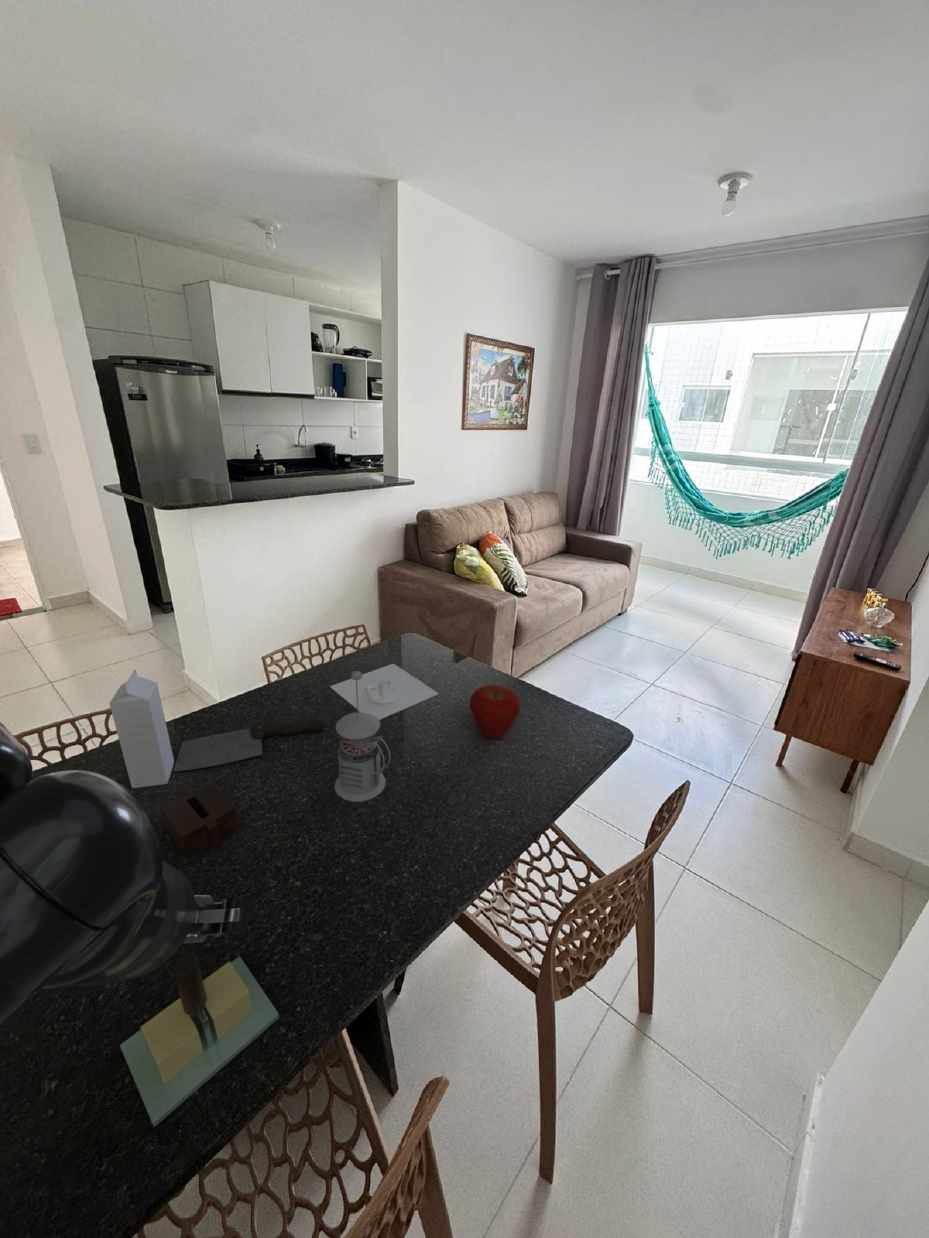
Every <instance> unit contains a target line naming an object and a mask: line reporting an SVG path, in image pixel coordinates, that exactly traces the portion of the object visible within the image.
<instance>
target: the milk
mask: <svg viewBox="0 0 929 1238" xmlns="http://www.w3.org/2000/svg"><path fill="white" fill-rule="evenodd" d="M109 707H110V711H111V714H112V718H113V719H112V720H113V722H114V726H115V729H116V733H117V737H118V740H119V744H120V748H121V752H122V756H123V759H124V763H125V767H126V771H127V775H128V779H129V782H130V786H131V789H139V788H147V787H155V786H162V785H168V783H169V780H170V777H171V775H172V773H173V770H174V768H175V763H176V762H175V759H174V754H173V750H172V744H171V741H170V736H169V731H168V727H167V722H166V719H165V713H164V709H163V703H162V699H161V695H160V689H159V685H158V682H156V681H153V680H151V679H148V678H145V677H143V676H139V675H138V673H137V669H133V671H132V673H131V674H130V676H129V678H128V679H127V681H125V682H124V683H122V684H121V685H120V686H119V687H118V689H117V690H116V692H115V694H114V695H113V697H112V698H111V700H110V701H109Z"/></svg>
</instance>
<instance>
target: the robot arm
mask: <svg viewBox="0 0 929 1238" xmlns="http://www.w3.org/2000/svg"><path fill="white" fill-rule="evenodd" d="M33 770H34V769H33V764H32V760H31V758H30V756H29V755H28V752H27V751H26V749H25V748H24V746H23V745H22V744H21V742H20V741H19V740H18V739H17V738H16V737H15V736H14V735H13V734H12V732H11V731H10V730H9V729H8V728H7V727H6V726H5V724H4V723H3V722H2V721H1V720H0V1028H1V1027H3V1025H5V1024H6V1023H7V1022H8V1021H9V1020H10V1019H11V1018H12V1017H14V1015H16V1014H17V1013H18V1012H19V1011H20V1010H21V1009H22V1008H23V1007H24V1006H25V1005H26V1004H27V1003H28V1002H29V1001H30V1000H31V999H32V998H33V997H34V996H36V994H38V993H39V991H40V990H41V989H44V990H45V989H46V990H47V989H61V988H69V987H74V986H79V987H100V986H106V985H111V984H115V983H119V982H124V981H129V980H132V979H133V980H134V979H137V978H140V977H142V976H145V975H148V974H150V973H151V972H153V971H155V970H157V969H158V968H159V967H161V966H162V965H163V964H164V963H166V962H167V961H168V960H169V959H170V958H171V957H172V956H173V955H174V954H175V953H176V952H177V951H178V950H179V948H180V947H181V945H182V944H195V943H196V944H197V943H204V942H205V940H206V939H207V937H208V936H213V938H219V937H221V936H223V935H225V936H232V935H234V936H235V937H236V936H237V937H239V936H242V934H247V927H248V921H249V914H250V908H251V907H250V906H251V901H250V900H248V899H245V898H244V897H239V895H231V897H228V898H226V899H222V900H221V901H219V902H215V901H214V897H213V896H211V895H205V894H203V895H202V894H195V893H194V889H193V887H192V885H191V883H190V881H189V880H188V878H187V877H186V875H184V873H183V872H181V871H180V870H179V869H177V868H176V867H175V866H173V865H172V864H170V863H168V862H167V861H165V860H164V858H163V857H164V856H163V850H162V845H161V841H160V837H159V834H158V832H157V830H156V827H155V825H154V823H153V821H152V818H151V817H150V815H149V813H148V812H147V811H146V809H145V808H144V806H143V805H142V804H141V802H140V800H138V799H137V797H135V795H134V794H133V793H131V792H130V791H129V790H128V789H127V788H126V787H125V786H124V785H122V784H121V783H120V782H118V781H116V780H114V779H112V778H111V777H108V776H107V775H103V774H100V773H98V772H95V771H89V770H79V769H70V770H60V771H55V772H50V773H47V774H44V775H40V776H37V777H35V778H34V771H33Z"/></svg>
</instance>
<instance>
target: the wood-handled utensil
mask: <svg viewBox="0 0 929 1238" xmlns="http://www.w3.org/2000/svg"><path fill="white" fill-rule="evenodd" d="M172 975H173V977H174V980H175V984H176V988H177V992H178V995H179V998H180V999H181V1002H182V1006H183V1010H184V1012H185V1013H186V1014H188V1015H191V1017H192V1018H193V1020H194V1022H195V1024H196V1026H197V1028H198V1029H199V1031H200V1033H201V1035H202V1037H203V1039H204V1040H205V1042H206V1044H207V1046H208V1048H210V1047H211V1046H213V1045H214V1042H213V1038H212V1034H211V1030H210V1026H209V1022H208V1018H207V1016H206V1015H205V1013H204V1011H203V1008H204V1006H205V1004H206V1002H207V995H206V991H205V987H204V983H203V980H204V979H203V976H202V975H203V974H202V972H201V966H200V963H199V958H198V956H197V955H196V954H195V953H192V952H190V953H189V952H188V953H185V954H182V955H181V956H179V957H178V958H177V959H176V960H175V962H174V963H173V966H172Z"/></svg>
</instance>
